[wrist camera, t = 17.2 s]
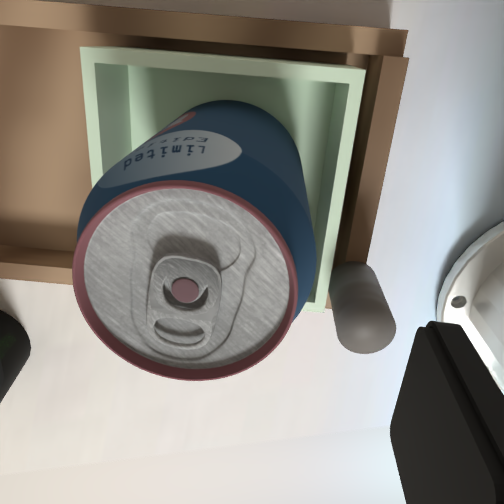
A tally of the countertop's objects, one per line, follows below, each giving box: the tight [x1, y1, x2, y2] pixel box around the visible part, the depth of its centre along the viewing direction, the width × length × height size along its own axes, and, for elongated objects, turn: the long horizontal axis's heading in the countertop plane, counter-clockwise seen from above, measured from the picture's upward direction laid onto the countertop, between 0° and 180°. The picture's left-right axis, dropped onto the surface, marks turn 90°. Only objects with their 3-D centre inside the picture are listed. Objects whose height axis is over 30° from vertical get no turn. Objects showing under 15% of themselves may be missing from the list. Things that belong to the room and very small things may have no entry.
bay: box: [0, 0, 409, 354], centre depth 20 cm, size 24×14×8 cm, turn 86°
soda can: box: [72, 100, 317, 381], centre depth 16 cm, size 7×7×12 cm
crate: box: [80, 46, 366, 313], centre depth 20 cm, size 10×10×4 cm
